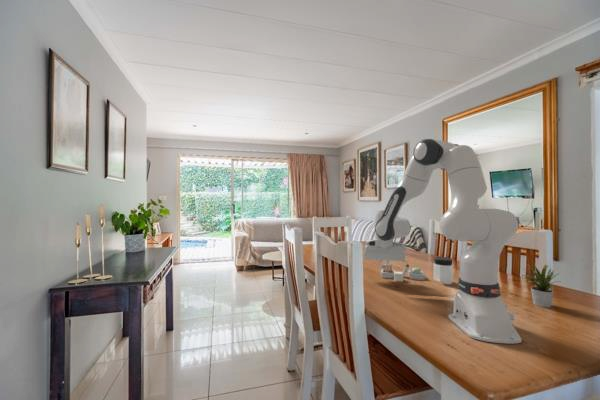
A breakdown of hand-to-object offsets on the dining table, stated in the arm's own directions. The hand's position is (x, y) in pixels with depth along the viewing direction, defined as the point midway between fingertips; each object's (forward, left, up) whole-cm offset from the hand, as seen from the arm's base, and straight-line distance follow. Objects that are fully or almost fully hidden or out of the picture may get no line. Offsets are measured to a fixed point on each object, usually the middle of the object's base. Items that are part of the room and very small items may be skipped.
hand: (383, 268), depth 144 cm
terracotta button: (+6, -3, -3) cm, 7 cm away
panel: (+3, -10, -7) cm, 12 cm away
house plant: (-19, -59, -7) cm, 62 cm away
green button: (+6, -17, -5) cm, 18 cm away
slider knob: (-1, -7, -5) cm, 9 cm away
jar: (+4, -29, -7) cm, 30 cm away
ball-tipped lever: (+6, -10, -5) cm, 12 cm away
